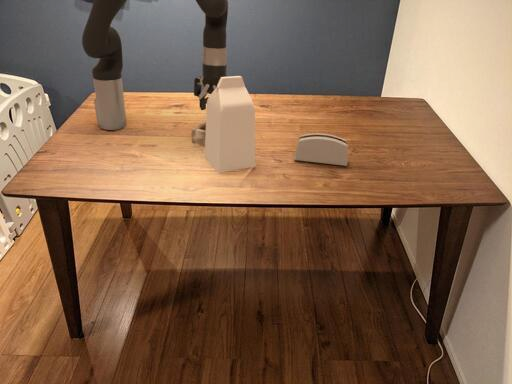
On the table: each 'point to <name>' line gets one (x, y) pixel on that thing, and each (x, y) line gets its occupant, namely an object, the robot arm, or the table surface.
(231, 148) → the milk
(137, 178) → the table surface
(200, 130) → the socket block
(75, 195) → the table surface
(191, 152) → the table surface
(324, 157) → the napkin holder
